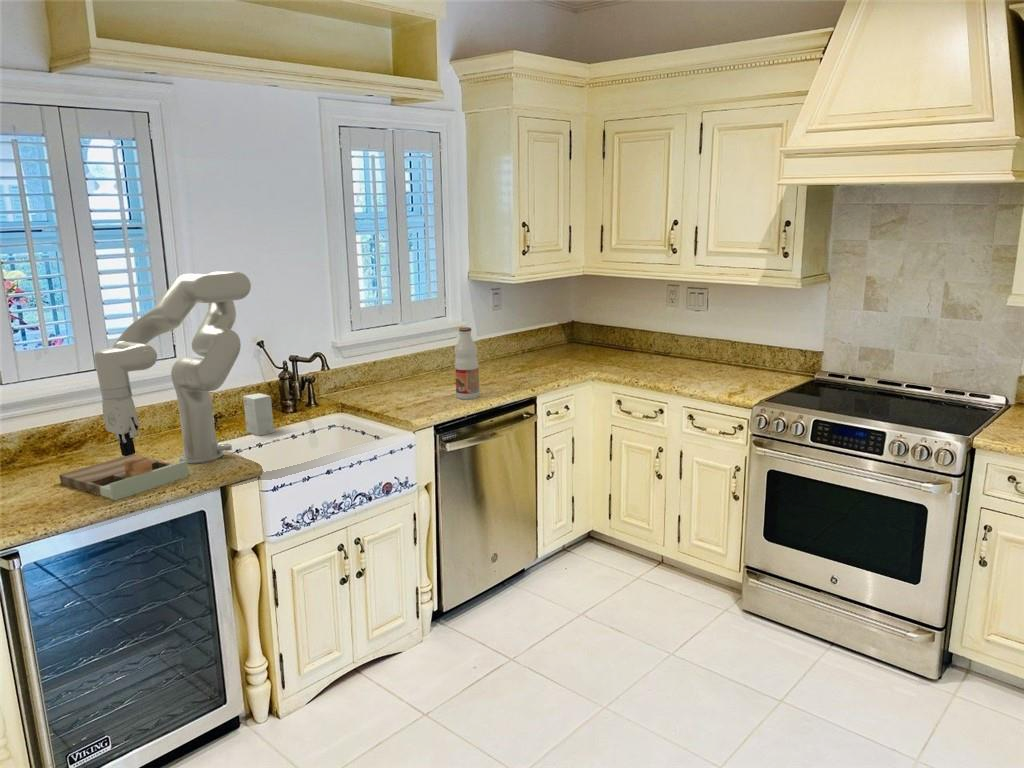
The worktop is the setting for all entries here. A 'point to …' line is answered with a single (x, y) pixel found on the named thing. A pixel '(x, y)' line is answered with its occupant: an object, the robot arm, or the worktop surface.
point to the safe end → (145, 481)
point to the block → (137, 466)
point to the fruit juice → (466, 366)
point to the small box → (258, 414)
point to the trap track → (102, 474)
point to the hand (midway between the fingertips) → (128, 454)
